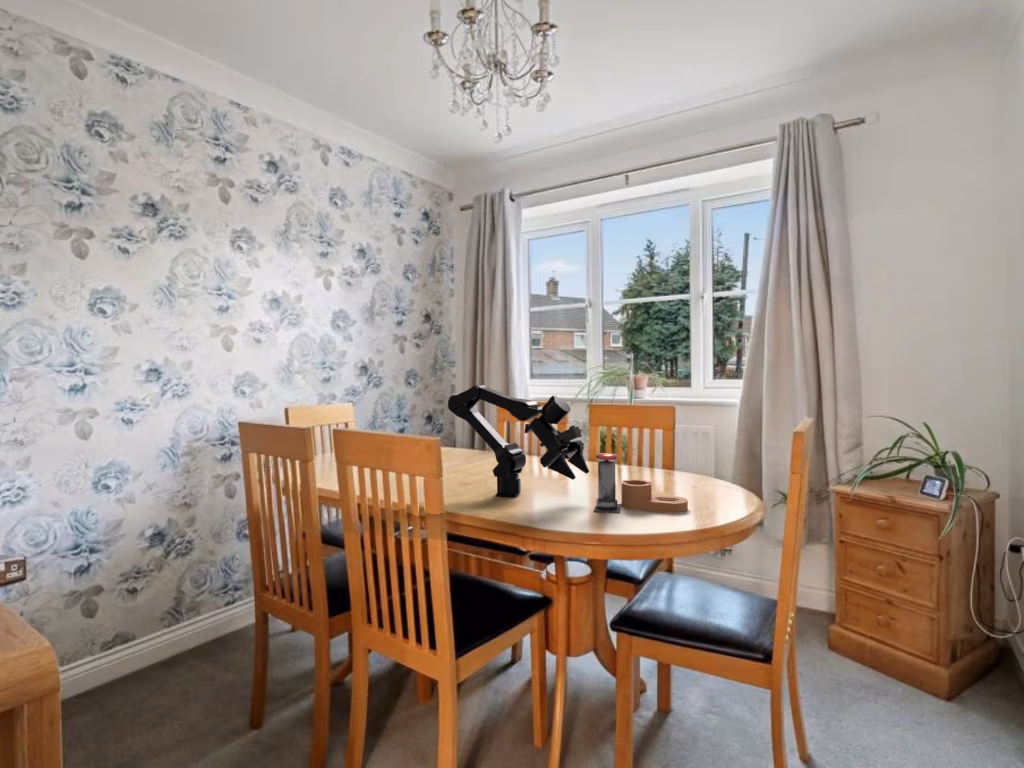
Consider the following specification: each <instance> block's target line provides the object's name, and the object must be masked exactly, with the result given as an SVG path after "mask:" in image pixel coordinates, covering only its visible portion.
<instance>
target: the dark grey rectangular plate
mask: <svg viewBox="0 0 1024 768" xmlns="http://www.w3.org/2000/svg"><path fill="white" fill-rule="evenodd" d="M621 508H622V503H617V509H615V510H601V509H598V508H597V507H596V506H595V507H594V509H593V513H610V514H620V513H621Z"/></svg>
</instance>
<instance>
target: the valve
mask: <svg viewBox="0 0 1024 768" xmlns="http://www.w3.org/2000/svg"><path fill="white" fill-rule="evenodd" d="M595 459H597V460H598V461H597V499H596V501H595V503H596V505H595V507H597V508H598V509H601V510H615V509H617V504H618V500H617V499H616V496H617V495H616V490H617V489H616V461H615V460H617V459H619V458H618V454H616V453H610V452H609V453H608V452H607V453H606V452H601V453H596V454H595Z"/></svg>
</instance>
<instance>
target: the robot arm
mask: <svg viewBox="0 0 1024 768" xmlns="http://www.w3.org/2000/svg"><path fill="white" fill-rule="evenodd" d="M480 401H484V402H486V403H489V404H491V405H494V406H496V407H499V408H501V409H503V410H505V411H507V412H509V414H510V415H511V416H512V417H513V418H516V419H517V420H518V421H521V422H525V421H530V420H531V422H530V423H525V425H524V426H525V427H524V434H529V433H533V434H534V435H535V437H536V438H537V439H538V440H539V442H540V444H539V445H540V447H541V448H546V452H544V454H543V455H542V456H541V457H540V460H539V463H540V465H541V466H542V467H543V468H544V469H545V468H547V470H551V471H554V472H555V473H558V474H560V475H562V476H565V477H567V478H569V479H571V480H575V479H576V477H577V476H576V475H575V473H574V471H573V470H572V469H571V467H570V465H569V464H568V463H570V464H572V465H573V466H574V467H576V468H577V469H578V470H580V471H581V472H583V473H584V474H586V475H587V474H589V473H590V470H589V467H588V465H587V462H586V460H585V458H584V455H583V453H584V450H585V444H584V442H583V441H582V440H579V439H578V438H581V437H583V435H582V432H583V429H582V428H581V427H580V426H579V425H577V424H573V425H571V426H569V427H568V428H569V429H566V430H564V431H562V430H561V429H559V430H557V429H556V428H555V427H554V426H553V424H554V425H558V424H560V422H561V421H562V420H563V419H564V418H565V417H566V416H567V415H568V414H569V413H570V411H571V407H570V405H569V403H567V402H566V401H564V400H563V399H562V398H560V397H558V396H557V394H555V395H552V396H551V397H550V398H549V399H548V400H547V401H546V402H545V404H544V405H540V404H539V403H538V402H537V401H535V400H533V399H526V398H517V397H513V396H511V395H508V394H506V393H502V392H500V391H497V390H495V389H492V388H490V387H487V386H486V385H484V384H477V385H476V384H475V385H473V386H472V387H470V388H469V389H467V390H465V391H462V392H460V393H458V394H453V395H450V396H449V398H448V400H447V408H448V410H449V411H450V412H451V413H452V414H453V415H455V416H456V417H458V418H460V419H462V420H463V421H464V420H465V421H466V422H467V424H468V425H470V427H471V428H472V430H474V431H475V432H476V433H477V435H479V437H480V438H481V439H482V440H483V441H484V442H485V443H486V444H487V446H488V447H489V448H490V449H491V450H492V451H493V453H494V456H495V460H496V462H497V465H496V466H494V468H492V473H493V476H494V477H496V486H497V487H496V491H497V492H496V493H495V496H496V497H507V498H508V497H512V498H513V497H514V498H515V497H517V496H518V495H519V494H520V493H521V491H522V490H521V489H522V487H521V484H522V483H521V478H519V477H520V476H519V475H520V474H521V473H522V470H523V468H524V467H525V466H526V463H527V460H526V459H527V456H526V454H525V450H523V449H521V447H520V446H519V445H518V444H517V442H511V443H508V442H507V441H506V440H505V439H504V438H503V437H502V436H501V435H500V434H499V433H498V431H496V430H495V428H494V427H493V426H492V425H491V424H490V423H489V422H488V421H487V420H486V418H485V417H484V416H482V415H483V414H481V413H480V412H479V410H478V405H477V403H479V402H480ZM539 415H540V416H539ZM538 416H539V417H538ZM575 439H576V440H575ZM577 439H578V440H577ZM566 461H567V462H568V463H567V462H566Z"/></svg>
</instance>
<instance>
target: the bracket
mask: <svg viewBox="0 0 1024 768" xmlns="http://www.w3.org/2000/svg"><path fill="white" fill-rule="evenodd" d="M620 484H621V485H620V486H621V492H620V493H621V497H620V498H621V504H622V505H621V508H623V507H624V509H626V508H627V509H626V510H631V509H632V511H642V510H645V512H655V511H658V512H659V513H668V512H672V513H673V514H680V512H682V513H685V512H684V511H686V512H688V510H689V508H688V507H689V506H688V505H689V503H688V501H689V499H687V498H685V497H683V496H677V495H662V494H652V482H651V481H649V480H645V479H632V478H631V479H625V480H622V481H621V482H620ZM658 512H657V513H658Z"/></svg>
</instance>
